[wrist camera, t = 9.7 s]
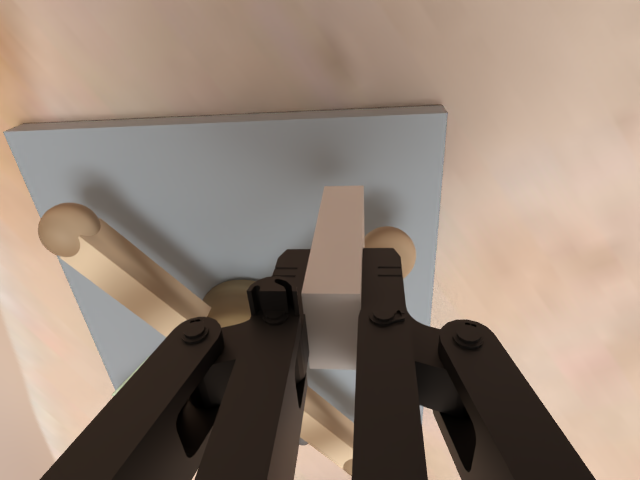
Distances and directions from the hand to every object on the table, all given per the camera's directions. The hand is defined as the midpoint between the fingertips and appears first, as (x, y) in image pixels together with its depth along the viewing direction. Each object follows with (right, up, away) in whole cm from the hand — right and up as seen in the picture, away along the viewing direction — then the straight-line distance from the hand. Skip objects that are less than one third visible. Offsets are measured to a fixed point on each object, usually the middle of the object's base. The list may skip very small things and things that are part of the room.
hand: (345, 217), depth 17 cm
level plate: (-5, -5, +11) cm, 13 cm away
